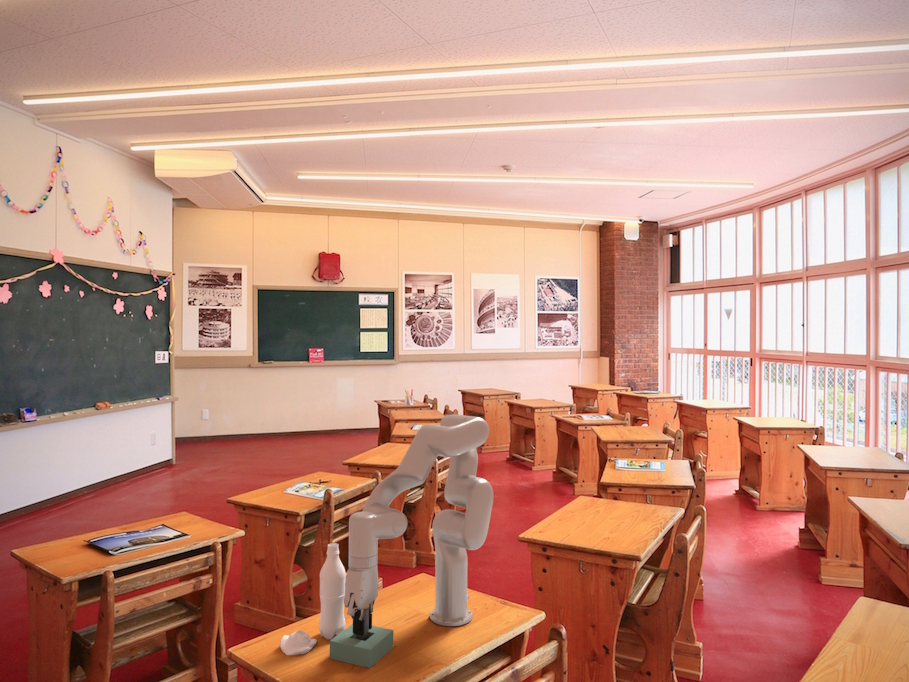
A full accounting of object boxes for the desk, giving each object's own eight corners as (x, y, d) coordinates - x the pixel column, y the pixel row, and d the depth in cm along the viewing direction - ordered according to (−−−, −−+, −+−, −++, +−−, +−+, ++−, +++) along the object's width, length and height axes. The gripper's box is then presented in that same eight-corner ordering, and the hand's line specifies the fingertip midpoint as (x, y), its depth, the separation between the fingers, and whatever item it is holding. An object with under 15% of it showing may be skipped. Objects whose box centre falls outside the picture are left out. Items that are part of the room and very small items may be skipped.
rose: (273, 629, 164) (307, 620, 170) (273, 646, 164) (306, 636, 170) (288, 643, 156) (323, 632, 162) (288, 661, 156) (323, 649, 162)
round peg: (360, 639, 162) (360, 597, 163) (371, 641, 161) (371, 599, 161) (353, 644, 159) (353, 602, 159) (364, 647, 158) (365, 604, 158)
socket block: (354, 638, 168) (354, 622, 168) (393, 647, 163) (393, 630, 163) (329, 658, 157) (329, 640, 157) (370, 668, 152) (370, 649, 152)
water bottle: (313, 635, 170) (314, 544, 170) (334, 627, 175) (335, 539, 175) (328, 644, 165) (330, 550, 165) (350, 635, 170) (351, 544, 171)
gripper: (366, 549, 170) (366, 616, 169) (333, 568, 154) (332, 642, 154) (390, 553, 167) (390, 621, 166) (358, 572, 152) (358, 647, 151)
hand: (362, 630), depth 160 cm, fingers closed on round peg, 3 cm apart
